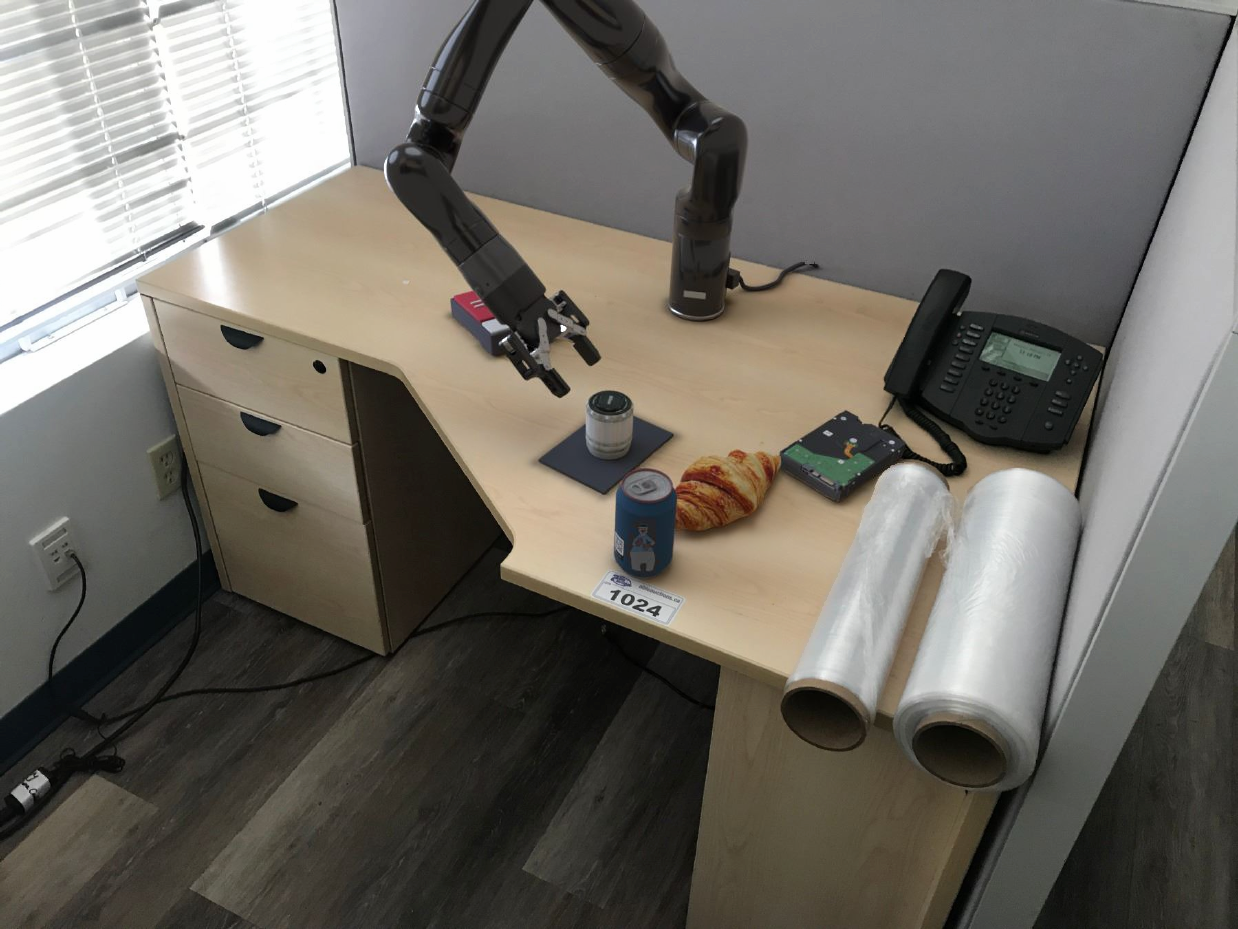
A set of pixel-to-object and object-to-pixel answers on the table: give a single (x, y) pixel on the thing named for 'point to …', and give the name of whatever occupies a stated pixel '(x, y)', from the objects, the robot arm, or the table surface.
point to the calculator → (479, 321)
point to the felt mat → (600, 472)
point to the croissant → (723, 488)
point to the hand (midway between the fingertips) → (581, 378)
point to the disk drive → (841, 455)
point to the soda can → (645, 523)
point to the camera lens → (609, 424)
